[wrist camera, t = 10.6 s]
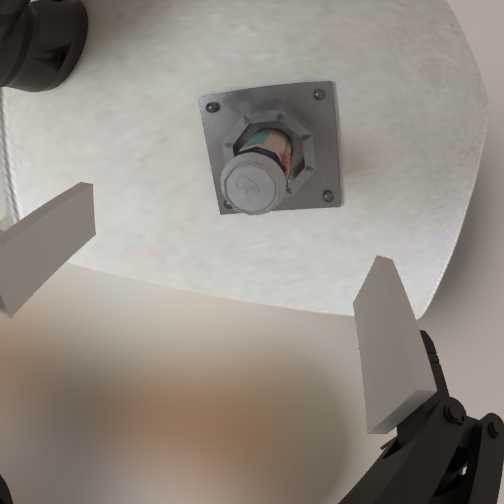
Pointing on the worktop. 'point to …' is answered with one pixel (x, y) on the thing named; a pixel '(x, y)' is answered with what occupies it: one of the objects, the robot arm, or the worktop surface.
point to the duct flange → (288, 122)
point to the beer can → (258, 173)
